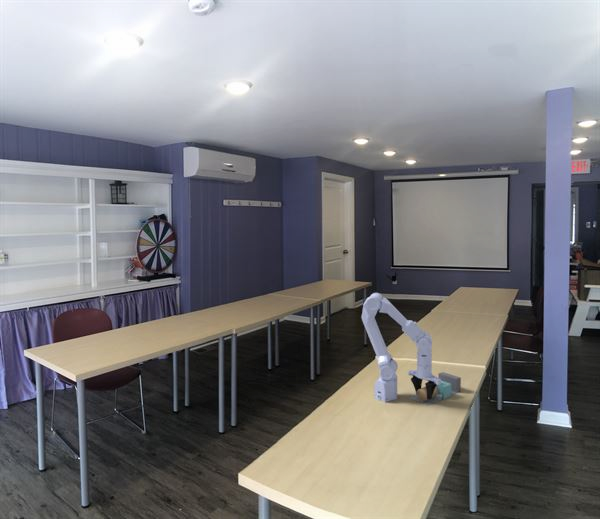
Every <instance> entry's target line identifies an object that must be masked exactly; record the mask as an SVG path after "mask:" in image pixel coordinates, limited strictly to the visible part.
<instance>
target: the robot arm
mask: <svg viewBox="0 0 600 519" xmlns="http://www.w3.org/2000/svg"><path fill="white" fill-rule="evenodd" d="M378 312H379V313H383V314H388V316H389V317H390V318H392V319H393V320H394V321H395V322H396V323H397V324H399V325H400V326H401V331H402V332H403V333H404V334H405V335H406V336H407V337H408V338H409V339H410V340H412V341H413V342H414V343H415V345H416V348H417V352H416V370H414V369H409V370H408V371H407V373H408V374H407V375H408V376H410V377H411V376H412V377H411V378H410V381H411V383H412V385H413V387H414V390H415V395H417V394H416V392H417V390H418V389H421V388H422V386H423V385H422V384H423V380H424V381H427V382H425V383H424V385H425V387H426V389H427V399H428V400H429V399H432V395H433V392H434V390H435V388H436V386H437V385H439V384H441V379H439V378H438V377H437V376H435V375H434V374H433V373H432V365H433V363H432V362H433V361H432V360H433V357H432V356H433V354H432V348H433V337H432V336H431V334H430V333H428V332H427V331H426V330H423V329H422V328H420V326H419V325H418V322H417V321H413V320H409V319H407V318H406V317H405V316H404V315H403V314H402V313H401V312H400V311H399V310H398V309H397V308H396V307H395V306H394V305H393V304H392V303H391V301H390V300H389V299H387V298H386V297H384V296H383V295H382V294H381V293H379V292H373V293H372V294H370V296H369V297H367V298H366V299H365V301H364V303H363V306H362V313H361V321H362V323H363V325H364V328H365V331H366V332H367V335H368V338H369V341H370V343H371V345H372V348H373V350H374V352H375V355H376V357H377V364H378V365H377V366H378V368H379V371H378V373H379V378H378V379H377V380H376V381H375V382H374V384H373V385H374V386H373V388H374V389H373V390H374V391H373V392H374V393H373V397H374V399H376V400H378V401H380V402H382V403H387V402H389V401H390V402H391V401H393V400H394V401H395V400H396V399H398V375H397V373H396V371H397V370H398V363H397V362H396V361H395V359H394V358H393V357H392V355H391V353H390V352H389V350H388V348H387V345H386V343H385V340H384V338H383V336H382V334H381V331H380V328H379V326H378V323H377V320H376V318H375V317H376V315H377V313H378ZM428 381H429V382H428Z"/></svg>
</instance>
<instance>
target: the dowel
mask: <svg viewBox="0 0 600 519" xmlns="http://www.w3.org/2000/svg"><path fill="white" fill-rule="evenodd" d="M416 394H417V397H418V398H417V399H419V400H420V401H422V402H423V401H424V402H425V400H427V389H426V386H423V387H421V389H418V390H417V392H416V391H415V395H416ZM437 395H438V388H437V387H436V388H435V390H434V392H433V395H432V397H435V396H437ZM437 397H438V396H437Z"/></svg>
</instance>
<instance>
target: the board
mask: <svg viewBox="0 0 600 519" xmlns="http://www.w3.org/2000/svg"><path fill="white" fill-rule="evenodd" d="M456 394H457V393H456V392H453V391H451V396H450V397H452V396H453V395H456ZM408 399H410V400H413V401H414V402H417V403H420V404H423V405H425V406H430V405H433V404H435V403H437V402H439V401H441V400H444V399H443V398H442V394H439V393H438V395H437V396H435V397H432V399H429V400H428V399H427V400H425V401H420V400H419V399H418V397H417V395H416V394H414V395H412V396H409V397H408Z"/></svg>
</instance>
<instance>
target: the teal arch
mask: <svg viewBox="0 0 600 519" xmlns="http://www.w3.org/2000/svg"><path fill="white" fill-rule="evenodd" d="M427 382H429V381H427ZM436 387H437V388H438V393H439V394H442V397H441V398H443V399H442V400H445V399H446V398H449V397H452V396H451V395H452V394H451V384H450V383H447V382H444V381H441V384H439V385H437V386H436Z"/></svg>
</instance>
